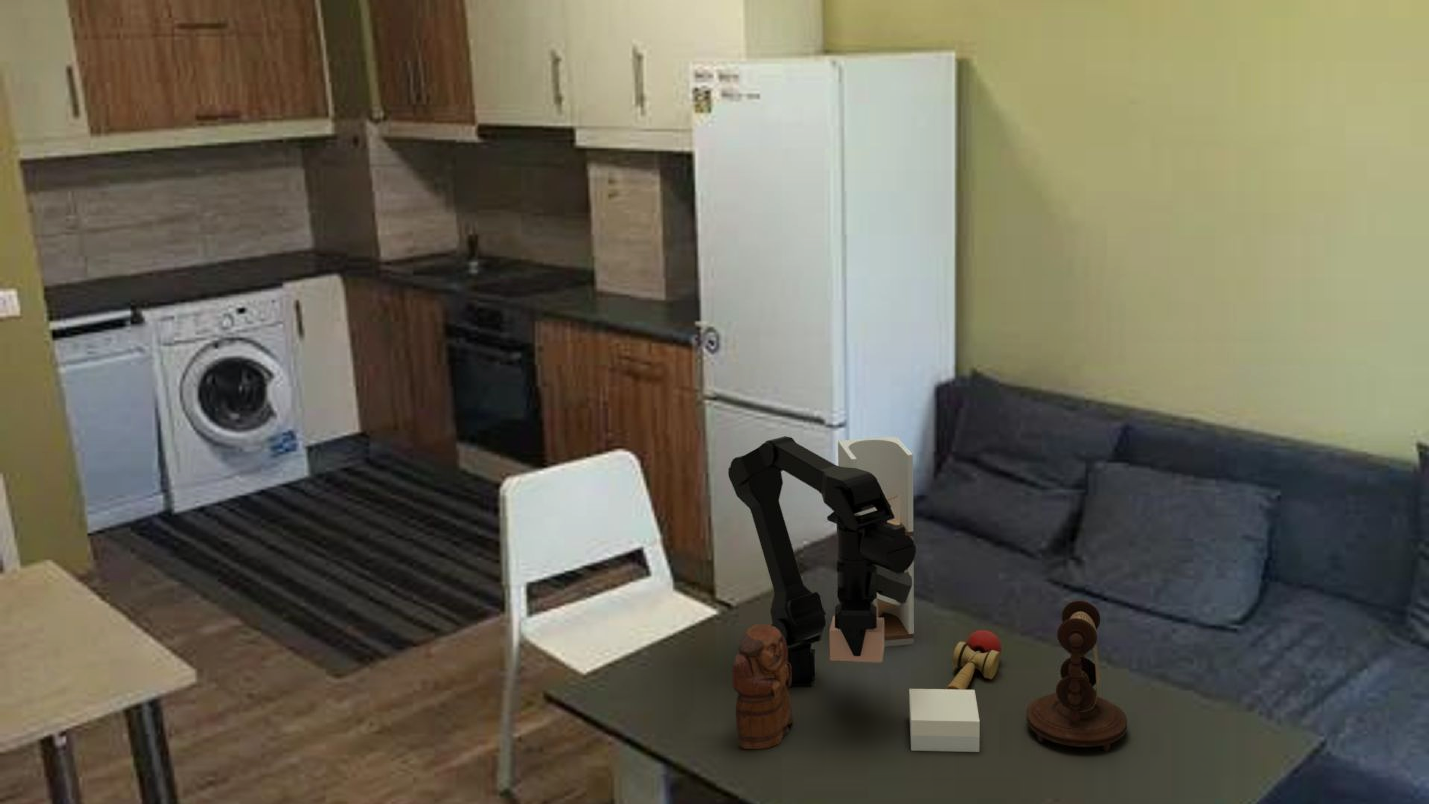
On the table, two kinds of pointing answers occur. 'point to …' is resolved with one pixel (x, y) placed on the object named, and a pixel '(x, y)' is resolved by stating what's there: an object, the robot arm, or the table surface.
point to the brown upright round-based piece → (1077, 689)
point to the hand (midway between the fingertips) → (857, 647)
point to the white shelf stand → (896, 483)
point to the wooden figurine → (762, 687)
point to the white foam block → (943, 720)
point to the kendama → (976, 658)
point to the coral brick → (870, 649)
